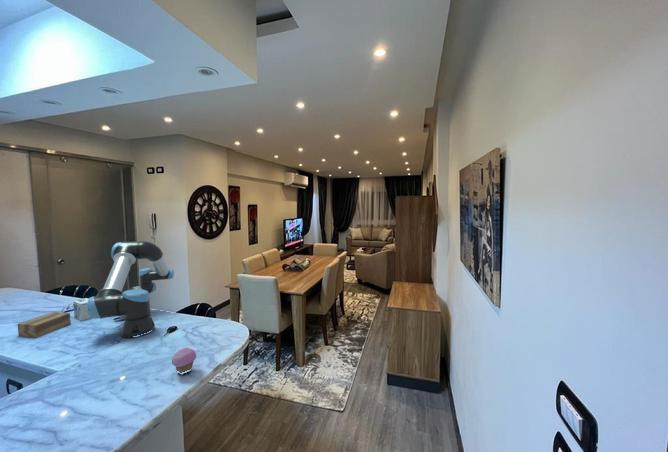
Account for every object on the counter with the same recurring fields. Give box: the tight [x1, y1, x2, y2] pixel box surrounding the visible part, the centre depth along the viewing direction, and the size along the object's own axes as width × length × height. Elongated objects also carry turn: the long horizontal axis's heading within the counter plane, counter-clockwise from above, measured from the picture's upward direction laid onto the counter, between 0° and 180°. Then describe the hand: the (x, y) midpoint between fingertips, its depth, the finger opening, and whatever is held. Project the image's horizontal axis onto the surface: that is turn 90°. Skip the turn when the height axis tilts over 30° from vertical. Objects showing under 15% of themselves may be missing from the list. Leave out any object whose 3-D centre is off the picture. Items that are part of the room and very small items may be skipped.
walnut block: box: [17, 311, 72, 338], centre depth 149 cm, size 12×16×7 cm
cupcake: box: [171, 347, 197, 373], centre depth 111 cm, size 9×9×10 cm
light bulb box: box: [72, 297, 92, 322], centre depth 166 cm, size 11×7×11 cm, turn 62°
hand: (99, 302), depth 173 cm, fingers open, 13 cm apart
